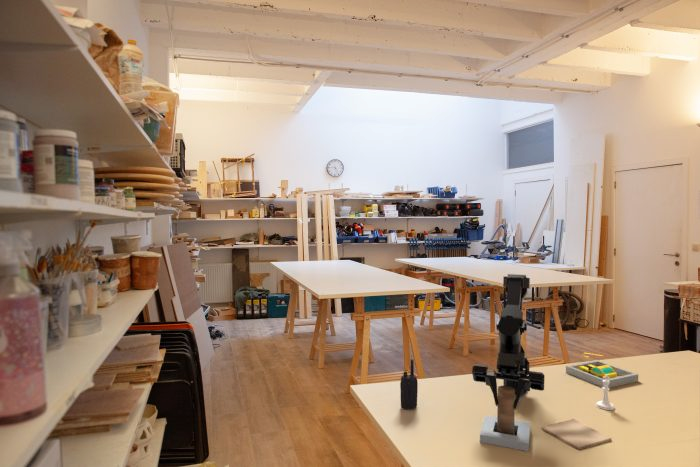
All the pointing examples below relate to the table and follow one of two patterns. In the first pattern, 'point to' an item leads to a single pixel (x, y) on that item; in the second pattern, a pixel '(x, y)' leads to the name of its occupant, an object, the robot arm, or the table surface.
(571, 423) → the wooden coaster
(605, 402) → the chess piece
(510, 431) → the walnut dowel
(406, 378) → the two-way radio
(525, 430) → the holder block
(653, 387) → the table surface
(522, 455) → the table surface
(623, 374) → the tray
